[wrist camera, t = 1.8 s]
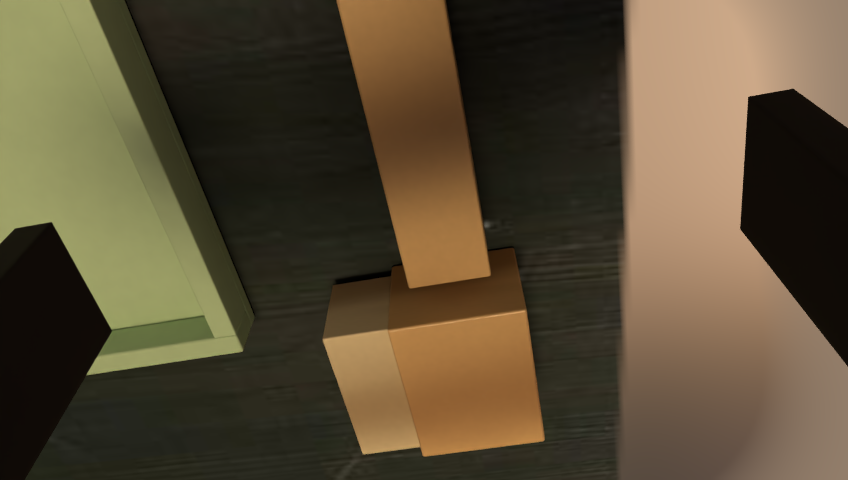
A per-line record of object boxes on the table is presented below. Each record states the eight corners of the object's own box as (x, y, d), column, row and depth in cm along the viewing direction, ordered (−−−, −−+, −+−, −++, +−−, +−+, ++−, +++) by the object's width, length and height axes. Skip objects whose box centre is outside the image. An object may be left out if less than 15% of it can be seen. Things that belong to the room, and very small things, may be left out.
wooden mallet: (202, -125, 18) (157, -111, 15) (451, -181, 17) (457, -178, 14) (369, 393, 28) (363, 465, 25) (531, 370, 27) (545, 441, 24)
